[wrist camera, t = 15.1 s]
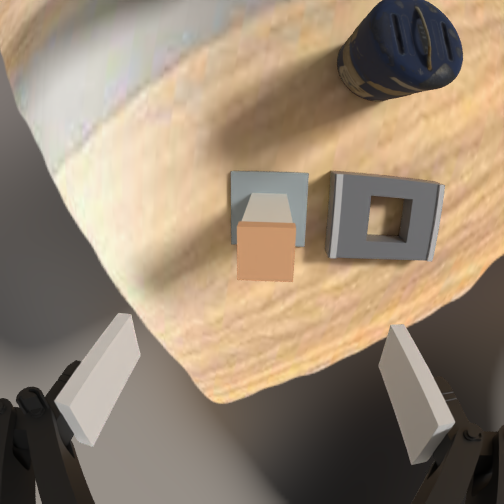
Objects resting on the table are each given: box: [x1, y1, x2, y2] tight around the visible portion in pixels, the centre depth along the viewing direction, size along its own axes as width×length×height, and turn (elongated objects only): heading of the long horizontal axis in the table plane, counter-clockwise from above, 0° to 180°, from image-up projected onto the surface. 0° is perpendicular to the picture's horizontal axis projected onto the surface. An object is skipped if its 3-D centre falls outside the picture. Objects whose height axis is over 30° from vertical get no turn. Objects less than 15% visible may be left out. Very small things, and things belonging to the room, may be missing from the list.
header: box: [325, 171, 445, 261], centre depth 39 cm, size 16×11×3 cm
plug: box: [237, 193, 296, 282], centre depth 33 cm, size 5×5×16 cm
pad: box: [231, 171, 309, 247], centre depth 41 cm, size 10×10×1 cm
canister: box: [337, 0, 463, 101], centre depth 25 cm, size 10×10×18 cm
